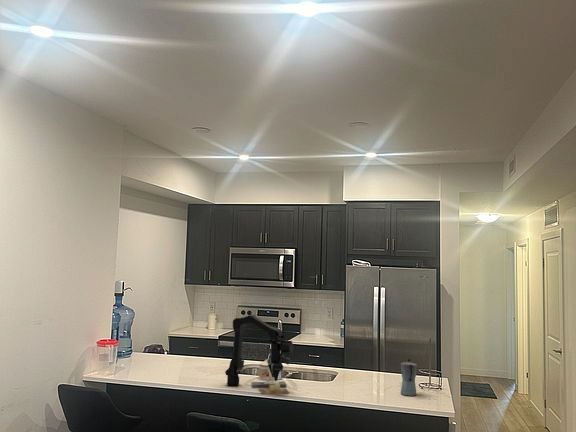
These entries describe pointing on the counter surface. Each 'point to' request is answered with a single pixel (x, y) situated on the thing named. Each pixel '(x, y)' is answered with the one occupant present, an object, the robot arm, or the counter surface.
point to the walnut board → (266, 391)
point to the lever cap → (273, 387)
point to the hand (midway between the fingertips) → (274, 379)
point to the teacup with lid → (265, 371)
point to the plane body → (265, 384)
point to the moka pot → (408, 378)
